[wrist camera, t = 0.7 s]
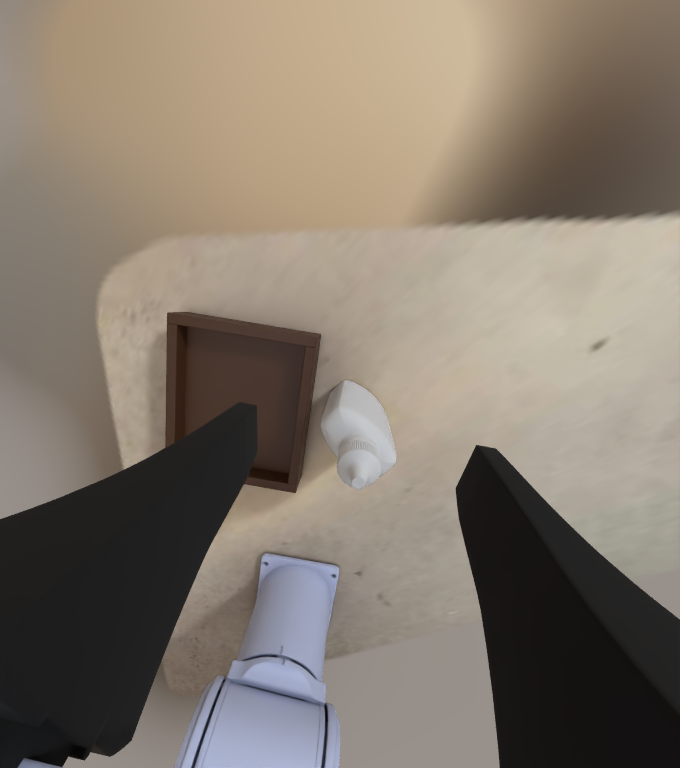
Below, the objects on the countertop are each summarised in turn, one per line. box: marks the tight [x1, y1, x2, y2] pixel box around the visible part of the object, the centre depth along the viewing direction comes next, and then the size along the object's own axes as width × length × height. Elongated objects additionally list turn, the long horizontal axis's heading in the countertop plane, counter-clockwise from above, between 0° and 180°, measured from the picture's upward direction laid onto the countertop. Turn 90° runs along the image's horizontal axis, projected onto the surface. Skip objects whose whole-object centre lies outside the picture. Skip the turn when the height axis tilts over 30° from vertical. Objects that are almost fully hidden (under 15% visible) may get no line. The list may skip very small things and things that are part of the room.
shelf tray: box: [166, 312, 321, 493], centre depth 26 cm, size 14×12×3 cm
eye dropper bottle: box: [321, 380, 396, 489], centre depth 21 cm, size 4×6×12 cm
